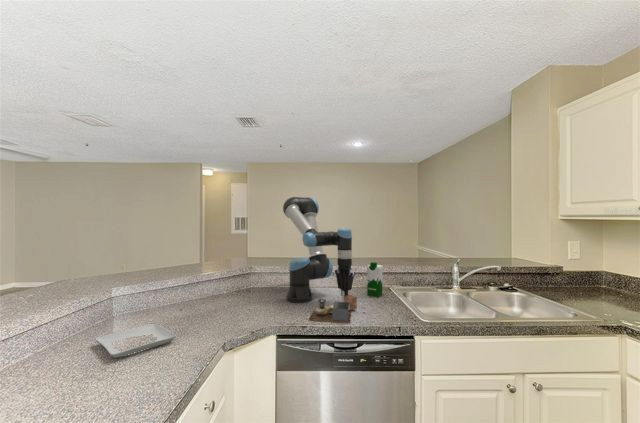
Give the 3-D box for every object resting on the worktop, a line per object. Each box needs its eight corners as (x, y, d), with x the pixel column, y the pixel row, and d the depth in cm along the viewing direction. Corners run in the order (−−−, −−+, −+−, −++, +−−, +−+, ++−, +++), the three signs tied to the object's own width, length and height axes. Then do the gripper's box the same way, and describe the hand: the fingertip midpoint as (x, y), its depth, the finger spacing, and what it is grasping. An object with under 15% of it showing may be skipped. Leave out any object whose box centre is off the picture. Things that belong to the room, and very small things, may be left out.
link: (319, 315, 137) (319, 302, 138) (314, 312, 142) (314, 299, 142) (357, 308, 147) (357, 296, 148) (351, 305, 152) (351, 294, 152)
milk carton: (365, 295, 176) (365, 262, 176) (371, 292, 184) (371, 260, 184) (379, 297, 171) (379, 263, 172) (384, 294, 179) (384, 261, 179)
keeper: (308, 320, 133) (308, 304, 133) (313, 312, 146) (313, 297, 146) (350, 323, 131) (350, 306, 131) (351, 313, 143) (351, 298, 143)
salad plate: (155, 329, 124) (155, 321, 124) (177, 343, 110) (178, 334, 110) (93, 346, 107) (93, 337, 107) (111, 365, 94) (111, 355, 94)
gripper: (330, 257, 155) (331, 301, 154) (349, 259, 146) (349, 307, 145) (340, 256, 160) (340, 299, 159) (358, 258, 151) (358, 304, 150)
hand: (344, 302), depth 152 cm, fingers closed
